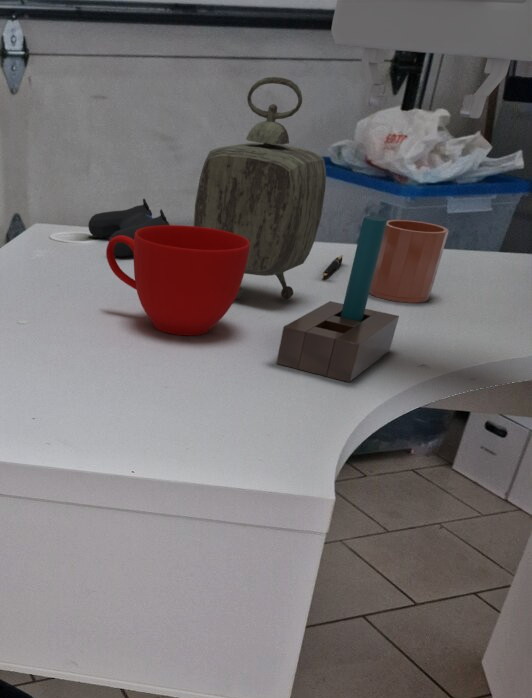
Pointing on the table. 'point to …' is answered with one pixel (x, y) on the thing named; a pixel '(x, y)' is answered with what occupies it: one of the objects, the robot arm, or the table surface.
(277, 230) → the tabletop clock
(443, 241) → the tumbler
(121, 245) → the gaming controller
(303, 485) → the table surface
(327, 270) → the fountain pen
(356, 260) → the teal square bar
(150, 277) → the ceramic cup
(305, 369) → the holder
